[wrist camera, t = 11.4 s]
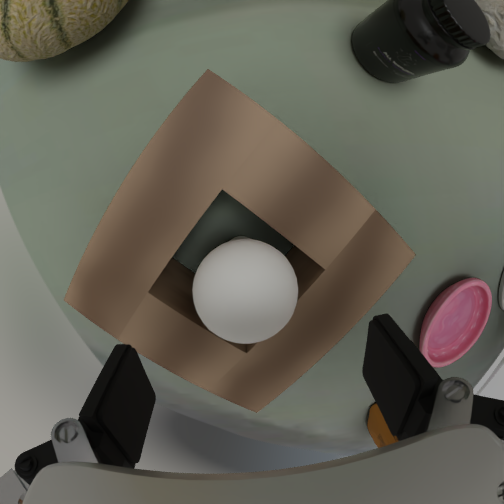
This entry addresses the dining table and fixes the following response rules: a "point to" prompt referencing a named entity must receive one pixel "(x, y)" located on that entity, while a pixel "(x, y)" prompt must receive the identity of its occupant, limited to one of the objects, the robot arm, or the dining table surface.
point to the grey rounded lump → (494, 24)
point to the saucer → (455, 321)
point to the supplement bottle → (419, 37)
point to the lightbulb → (245, 290)
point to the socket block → (265, 207)
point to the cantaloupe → (50, 25)
